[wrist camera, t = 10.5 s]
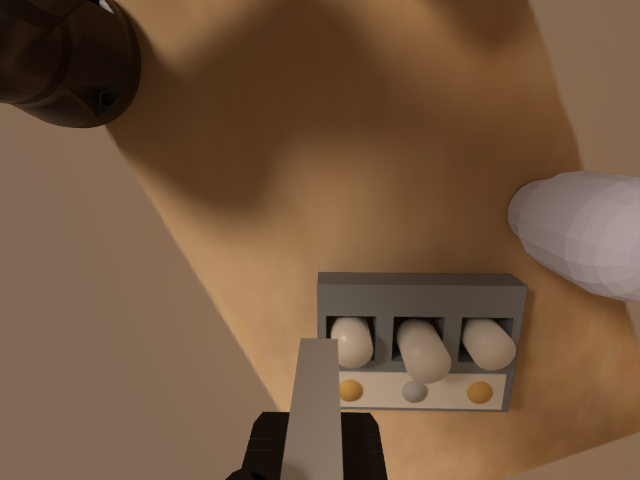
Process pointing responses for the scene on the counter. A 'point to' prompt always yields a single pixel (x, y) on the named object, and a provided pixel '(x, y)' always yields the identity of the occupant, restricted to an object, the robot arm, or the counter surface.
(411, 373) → the button
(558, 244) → the soap bottle
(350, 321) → the button
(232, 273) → the counter surface
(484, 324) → the button
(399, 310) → the board
